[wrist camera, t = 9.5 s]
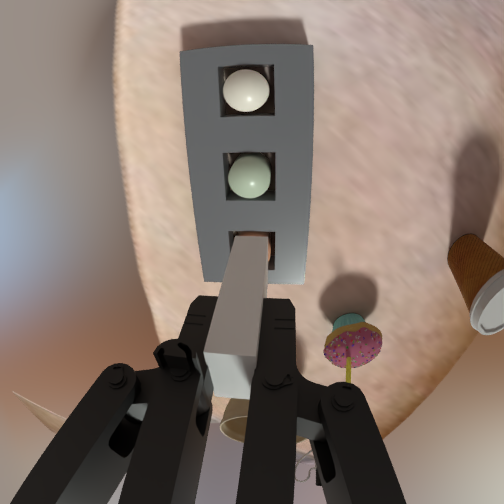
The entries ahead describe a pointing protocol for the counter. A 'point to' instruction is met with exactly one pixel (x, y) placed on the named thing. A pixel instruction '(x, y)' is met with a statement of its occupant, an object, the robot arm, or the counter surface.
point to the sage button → (250, 174)
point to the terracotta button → (258, 233)
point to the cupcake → (352, 343)
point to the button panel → (250, 140)
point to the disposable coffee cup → (479, 282)
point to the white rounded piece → (246, 90)
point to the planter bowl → (238, 420)
